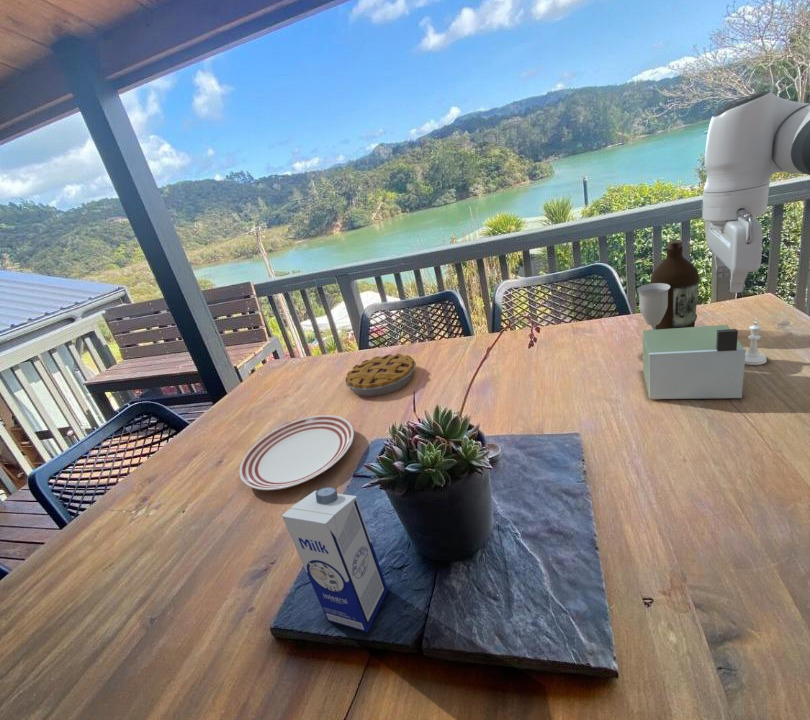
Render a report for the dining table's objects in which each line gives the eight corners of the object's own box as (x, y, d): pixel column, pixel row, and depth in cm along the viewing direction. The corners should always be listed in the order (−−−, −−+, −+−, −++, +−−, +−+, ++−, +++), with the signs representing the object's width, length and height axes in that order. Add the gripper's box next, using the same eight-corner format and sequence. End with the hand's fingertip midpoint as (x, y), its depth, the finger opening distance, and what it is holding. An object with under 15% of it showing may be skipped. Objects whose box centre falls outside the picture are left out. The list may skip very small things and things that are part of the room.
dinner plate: (320, 503, 86) (315, 490, 85) (218, 494, 97) (212, 482, 96) (375, 425, 109) (371, 414, 108) (287, 425, 120) (283, 415, 119)
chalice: (644, 349, 113) (643, 283, 107) (673, 352, 109) (674, 283, 102) (633, 361, 109) (631, 292, 102) (663, 365, 104) (664, 293, 97)
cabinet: (739, 396, 87) (744, 348, 83) (648, 397, 94) (648, 352, 89) (724, 369, 97) (727, 324, 93) (643, 372, 104) (642, 330, 99)
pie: (404, 397, 119) (400, 381, 117) (336, 400, 127) (331, 385, 126) (426, 362, 138) (423, 348, 136) (365, 366, 146) (361, 353, 144)
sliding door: (742, 398, 86) (748, 330, 80) (649, 399, 92) (649, 336, 87) (740, 395, 87) (746, 328, 81) (649, 396, 93) (648, 334, 88)
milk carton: (326, 620, 62) (279, 514, 55) (349, 580, 68) (310, 479, 60) (368, 632, 59) (325, 522, 52) (389, 589, 65) (353, 484, 57)
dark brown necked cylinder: (641, 334, 122) (640, 245, 112) (675, 324, 123) (677, 235, 113) (670, 346, 112) (672, 249, 102) (707, 334, 113) (711, 238, 103)
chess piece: (736, 363, 98) (739, 322, 94) (740, 354, 101) (743, 314, 97) (764, 366, 94) (769, 323, 91) (768, 356, 98) (772, 315, 94)
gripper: (779, 211, 64) (769, 300, 69) (740, 193, 81) (734, 266, 86) (727, 218, 66) (721, 304, 72) (699, 200, 83) (696, 270, 88)
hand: (728, 283), depth 79 cm, fingers open, 8 cm apart
